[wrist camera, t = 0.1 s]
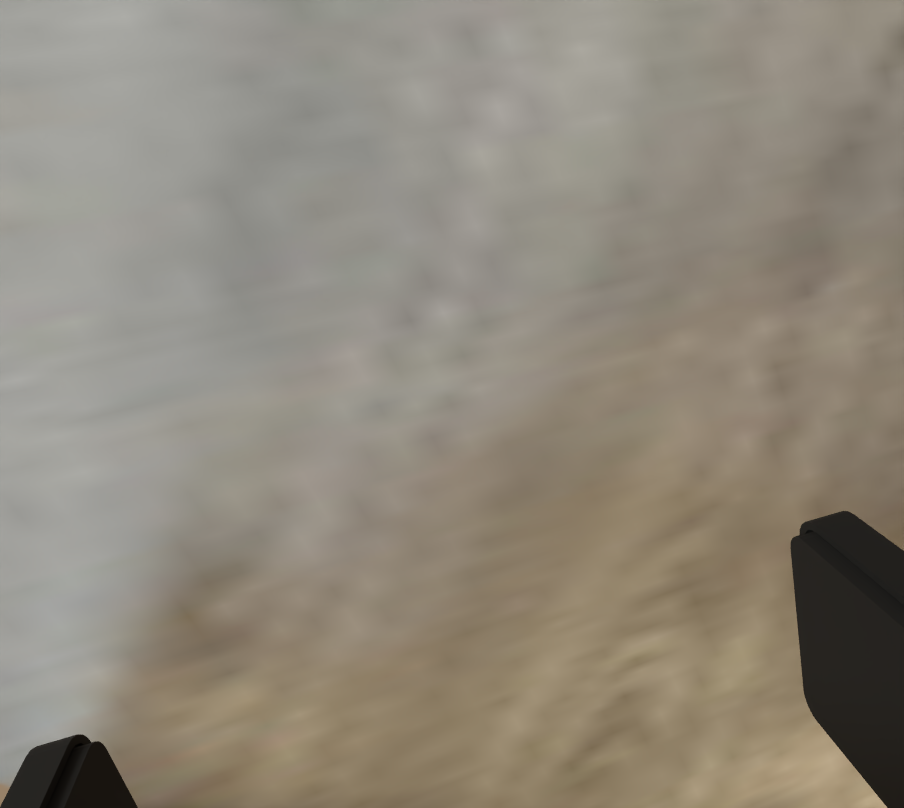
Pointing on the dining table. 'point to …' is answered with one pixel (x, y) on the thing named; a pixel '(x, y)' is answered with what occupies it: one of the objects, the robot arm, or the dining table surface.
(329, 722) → the dining table surface
